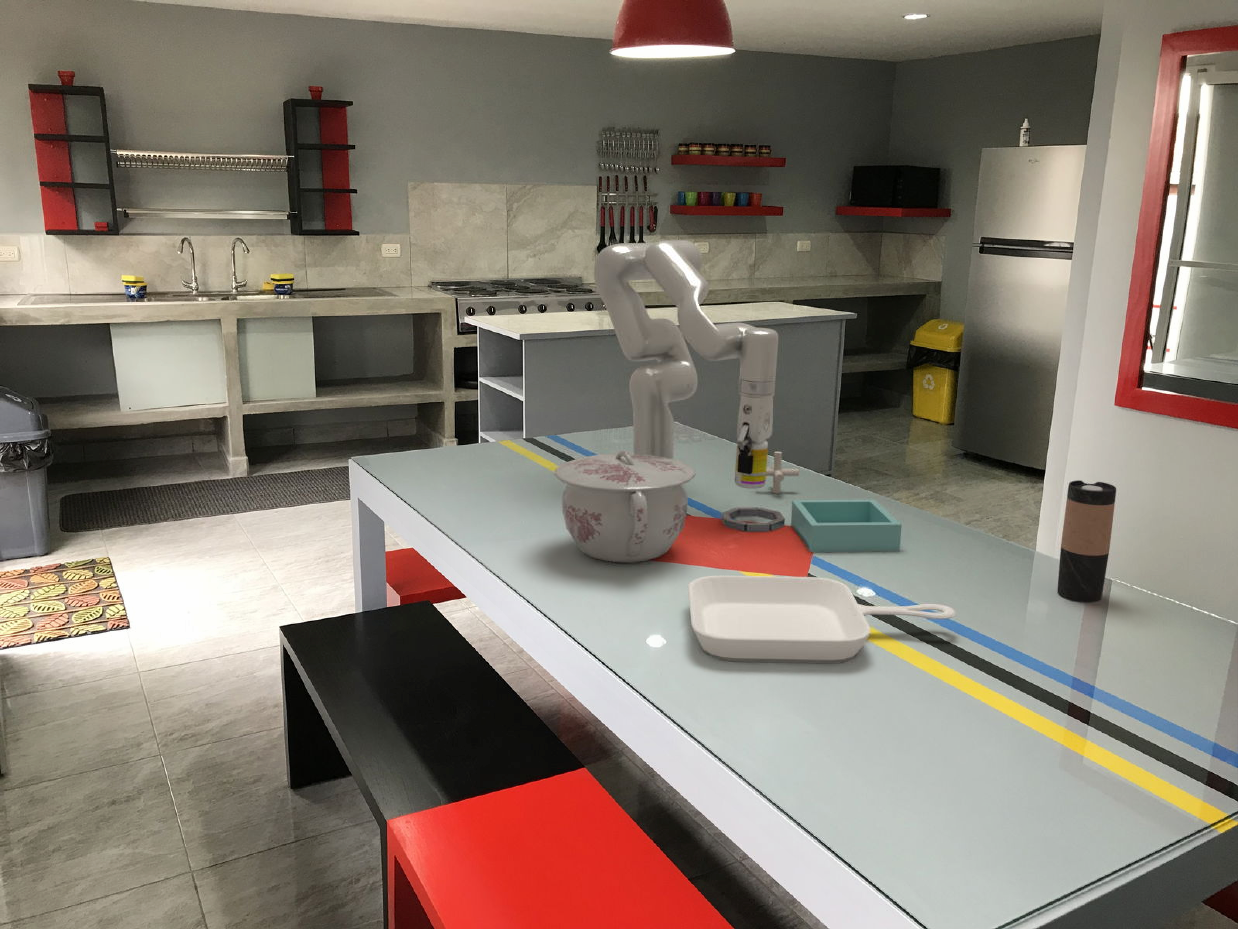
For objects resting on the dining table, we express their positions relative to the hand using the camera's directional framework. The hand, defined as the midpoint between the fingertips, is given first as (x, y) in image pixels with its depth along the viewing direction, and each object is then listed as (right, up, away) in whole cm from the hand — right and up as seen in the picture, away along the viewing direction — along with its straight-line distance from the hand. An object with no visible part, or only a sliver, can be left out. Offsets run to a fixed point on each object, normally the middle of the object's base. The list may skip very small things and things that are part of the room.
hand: (750, 468), depth 215 cm
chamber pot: (-27, -17, -18) cm, 37 cm away
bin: (+18, -14, -8) cm, 24 cm away
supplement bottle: (0, -4, +1) cm, 4 cm away
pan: (+4, -26, -55) cm, 61 cm away
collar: (+1, -12, +2) cm, 12 cm away
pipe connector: (+10, -6, +26) cm, 28 cm away
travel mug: (+53, -22, -39) cm, 69 cm away
